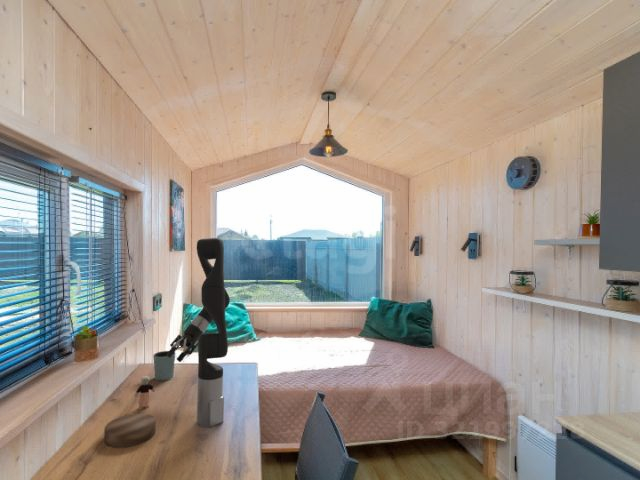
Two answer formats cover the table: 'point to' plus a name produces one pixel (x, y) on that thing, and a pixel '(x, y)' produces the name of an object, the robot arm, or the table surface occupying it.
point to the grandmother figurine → (144, 393)
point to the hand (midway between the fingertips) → (173, 358)
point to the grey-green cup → (163, 365)
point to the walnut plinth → (129, 430)
